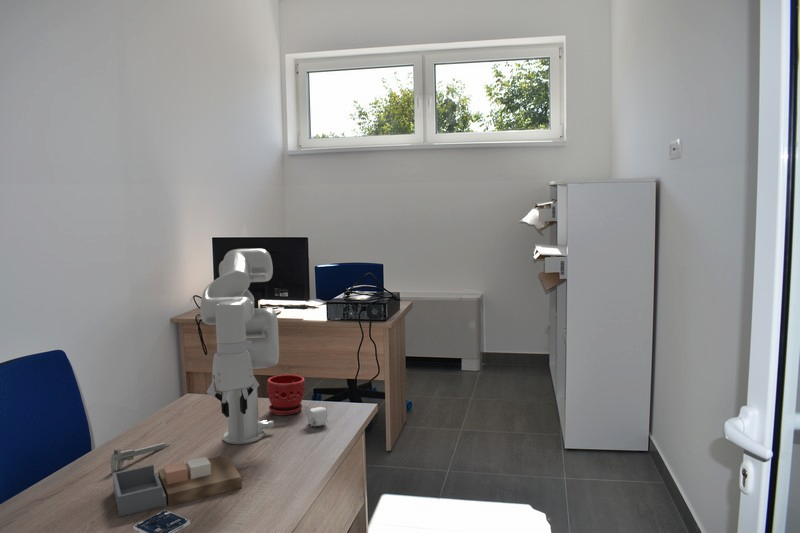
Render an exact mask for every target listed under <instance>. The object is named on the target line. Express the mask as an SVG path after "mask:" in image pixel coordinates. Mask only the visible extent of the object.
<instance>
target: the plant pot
mask: <svg viewBox="0 0 800 533" xmlns="http://www.w3.org/2000/svg"><path fill="white" fill-rule="evenodd" d="M266 382H267V384H266V386H267V387H266V389H267V395H268V399H269V402H270V403H269V404H270V405H269V408H268V409H269V411H270V412H271V413H272V414H274V415H276V416H289V415H290V416H291V415H294V414H296V413H299V412H300V411H301V410H302V408H303V404H302V401H303V398H304V394H305V386H306V384H305V383H306V382H305V378H304V377H303V376H301V375H298V374H297V375H296V374H280V375H275V376H271V377H269V378H268V379H267V380H266Z"/></svg>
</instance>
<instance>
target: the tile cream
mask: <svg viewBox="0 0 800 533" xmlns="http://www.w3.org/2000/svg"><path fill="white" fill-rule="evenodd" d="M208 459H209V458H207V456H204V457H199V458H194V459H190V460H187V461H186V464H187V471H188V474H189V476H190V478H191V479H194V478H198V477H202V476H207V475H211V464H210V462H209V460H208Z"/></svg>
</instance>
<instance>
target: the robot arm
mask: <svg viewBox="0 0 800 533" xmlns="http://www.w3.org/2000/svg"><path fill="white" fill-rule="evenodd" d="M273 269H274V267H273V260H272V257H271V254H270V252H269V251H267V250H266V249H265V248H236V249H231V250H229V251H228V252H226V254H225V255H224V257H223V260H222V261H221V262H220V263H219V266H218V274H219V277H217V278H216V279H214V280H213V281H212V282H210V283H209V284H207V286H205V289H203V292H202V296H201V301H200V305H199V306H200V308H199V309H200V310H199V311H200V312H199V314H200V319H201V321H202V323H204V324H205V325H209V326H215V333H216V350H217V352H215V353H214V354H213V360H212V372H211V373H212V374H211V375H212V379H211V380H212V382H211V383H210V385H209V386H208V388H207V391H206V393H207V395H209V396H210V397H211V396H212V397H214V398H216V399H217V400H219V401H220V408H221V413H222V415H224V416H225V418H227V420H226V421H227V431H225V432H224V433H223V436H222V439H223V441H224V442H225V443H226V444H231V445H246V444H251V443H255V442H257V441H259V440H261V439H262V438H264V436H265V431H264V430H265V429H267V428H268V429H270V428H274V425H275V423H274V420H269V421H268V420H267V419H266V420H265V419H264V420H262V421H261V420H259V419H260V418H259V397H258V387H259V386H260V383H259V381H258V380H257V379H256V377H255V376H254V372H253V371H254V369H255V370H256V369H257V370H258V369H268V368H273V367H276V366H277V365H278V363H279V358H280V343H279V342H280V341H279V321H278V316H277V313H276V312H275V310H274V309H272V308H268V307H263V308H261V307H260V308H257V307H256V308H255V297H254V295H253V294H252V292H251V291H250V290H249V288H250V285H251V283H263V282H264V283H265V282H269V281H270V280H271V279H272V277H273V273H274V270H273ZM215 390H216V391H215Z"/></svg>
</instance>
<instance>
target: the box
mask: <svg viewBox="0 0 800 533" xmlns="http://www.w3.org/2000/svg"><path fill="white" fill-rule="evenodd" d="M154 467H155V466H154V464H153V463H152V464H149V465H148V464H147V465H145V466H144V465H143V466H140V467H135V468H130V469H125V470H120V471H116V472H115V473H114V472H112V488H113V496H114V498H115V505H116V509H117V514H118V518H121V517H126V516H130V515H131V516H132V515H134V514H137V513H142V512H146V511H150V510H154V509H158V508H162V507H166V506H168V503H167V500H166V494H165V492H164V489H163V487H162V484H161V482H160V479H159V477H158V473H157V472H156V473H155V468H154Z"/></svg>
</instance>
